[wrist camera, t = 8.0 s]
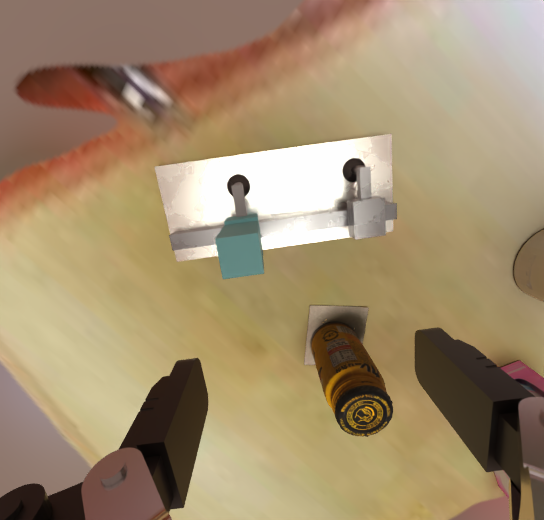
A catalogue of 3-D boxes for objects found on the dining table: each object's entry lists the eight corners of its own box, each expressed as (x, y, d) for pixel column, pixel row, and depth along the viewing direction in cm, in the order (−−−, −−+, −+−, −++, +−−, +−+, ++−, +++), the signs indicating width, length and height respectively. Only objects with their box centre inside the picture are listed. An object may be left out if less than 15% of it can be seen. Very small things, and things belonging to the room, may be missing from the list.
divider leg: (253, 180, 29) (250, 182, 19) (262, 244, 31) (264, 277, 21) (223, 184, 29) (205, 188, 19) (234, 248, 31) (223, 283, 21)
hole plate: (385, 135, 31) (411, 127, 25) (387, 228, 33) (411, 238, 28) (159, 167, 30) (138, 165, 25) (180, 257, 33) (165, 273, 28)
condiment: (304, 364, 38) (323, 445, 27) (309, 304, 36) (334, 365, 24) (358, 364, 39) (401, 445, 27) (367, 306, 36) (418, 367, 25)
